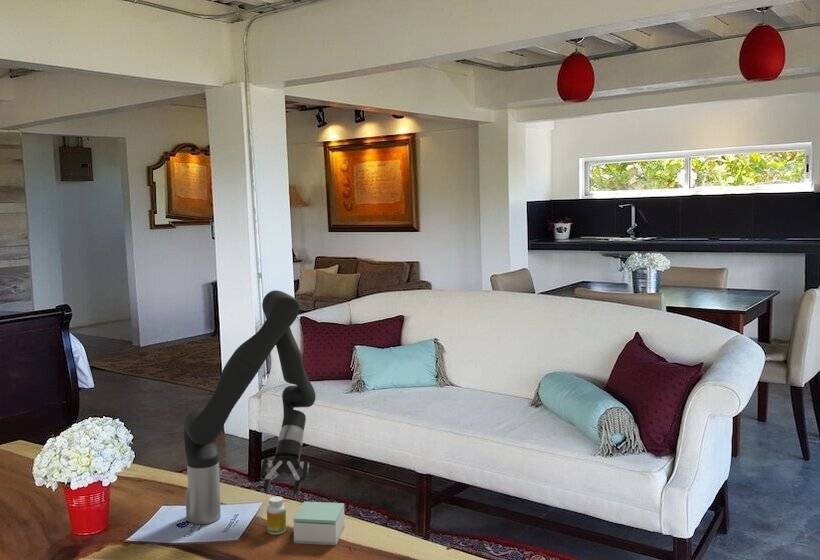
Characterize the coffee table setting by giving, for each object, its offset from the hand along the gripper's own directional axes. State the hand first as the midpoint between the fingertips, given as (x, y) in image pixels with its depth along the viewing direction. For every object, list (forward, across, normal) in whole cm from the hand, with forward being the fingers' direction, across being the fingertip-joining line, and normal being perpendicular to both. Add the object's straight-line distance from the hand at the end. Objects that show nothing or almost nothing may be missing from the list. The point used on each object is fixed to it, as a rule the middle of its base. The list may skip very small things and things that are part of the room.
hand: (280, 493), depth 223 cm
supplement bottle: (+10, 0, +4) cm, 11 cm away
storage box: (+11, +13, +3) cm, 17 cm away
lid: (+6, +13, -2) cm, 14 cm away
